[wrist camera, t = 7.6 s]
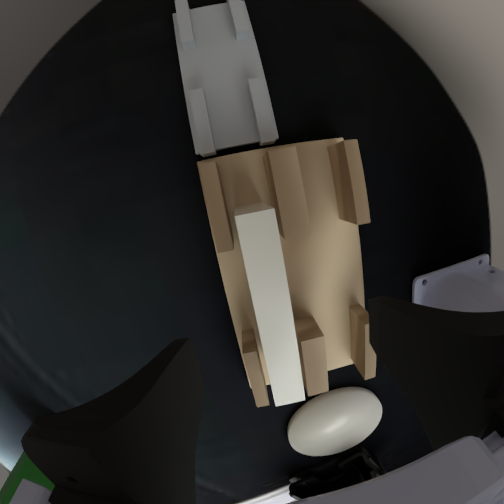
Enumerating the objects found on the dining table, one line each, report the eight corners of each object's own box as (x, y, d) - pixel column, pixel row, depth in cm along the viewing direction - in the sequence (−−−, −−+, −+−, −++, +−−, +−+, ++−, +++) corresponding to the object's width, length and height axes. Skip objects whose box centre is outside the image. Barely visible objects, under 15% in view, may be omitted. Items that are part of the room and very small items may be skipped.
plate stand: (243, 2, 14) (243, -12, 12) (278, 144, 17) (282, 139, 15) (173, 15, 14) (168, 2, 12) (197, 160, 17) (193, 156, 15)
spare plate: (380, 372, 21) (386, 379, 20) (374, 432, 23) (377, 439, 22) (280, 399, 21) (282, 409, 20) (291, 455, 23) (293, 463, 22)
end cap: (309, 493, 25) (319, 533, 19) (283, 477, 24) (291, 524, 17) (380, 459, 25) (399, 498, 18) (364, 439, 23) (385, 484, 17)
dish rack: (338, 139, 17) (361, 129, 13) (361, 354, 20) (379, 379, 17) (198, 163, 17) (189, 156, 13) (249, 381, 20) (252, 413, 17)
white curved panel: (262, 202, 17) (274, 208, 11) (288, 348, 19) (305, 400, 13) (235, 207, 16) (234, 216, 11) (265, 353, 19) (275, 406, 13)
